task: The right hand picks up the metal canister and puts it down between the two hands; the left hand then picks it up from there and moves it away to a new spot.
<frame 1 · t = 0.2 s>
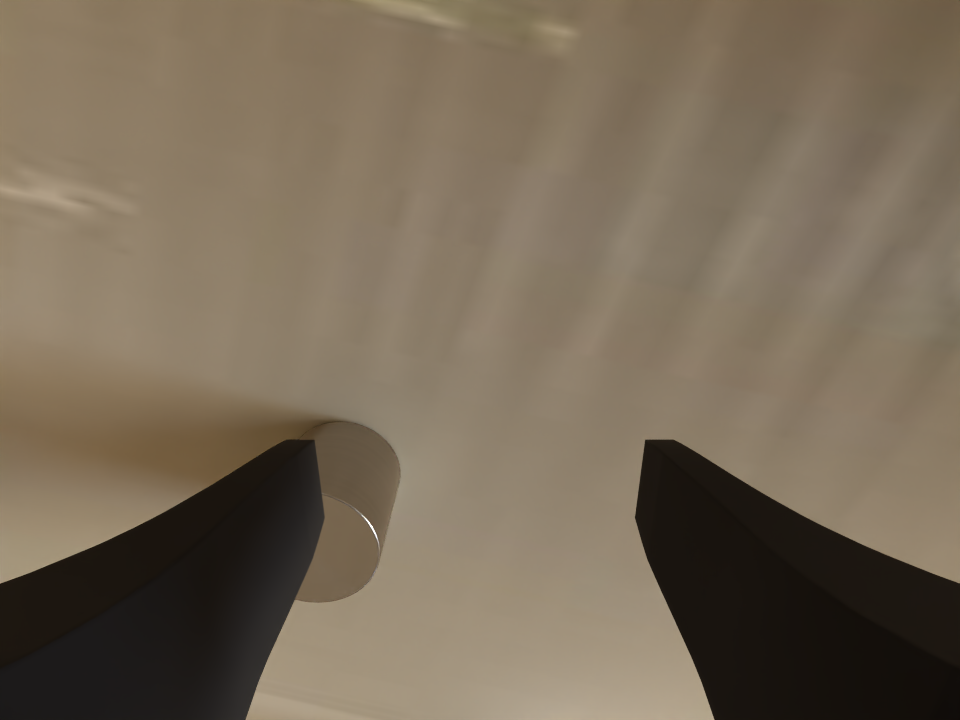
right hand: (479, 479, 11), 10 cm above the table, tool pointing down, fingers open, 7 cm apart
canister: (345, 470, 22), on the table
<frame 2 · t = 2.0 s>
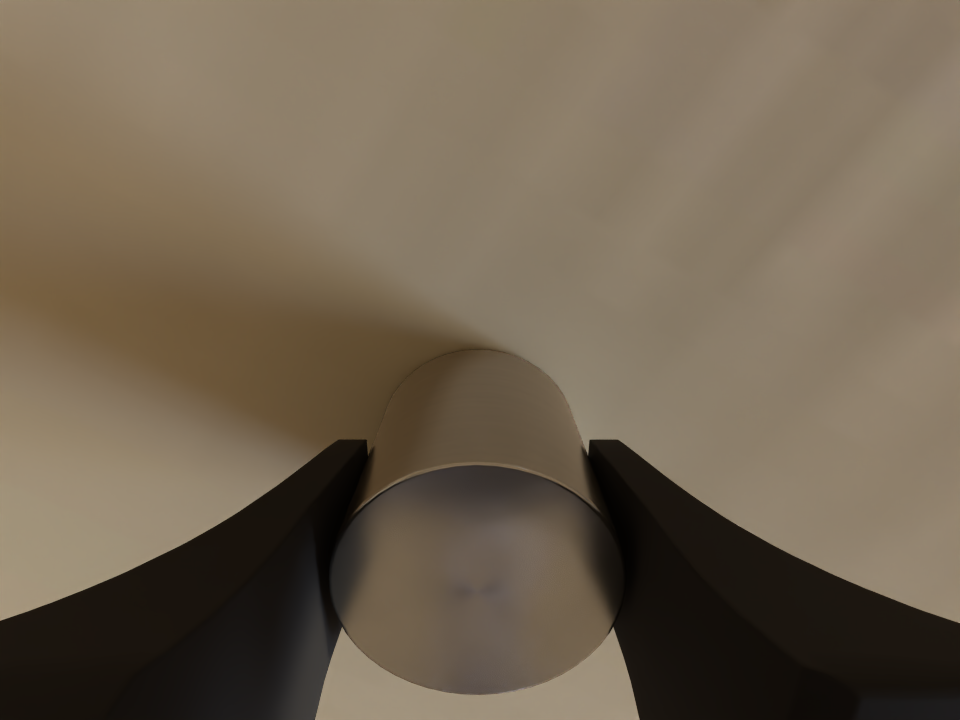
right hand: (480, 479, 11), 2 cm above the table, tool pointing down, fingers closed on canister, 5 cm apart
canister: (478, 438, 13), on the table, touching right hand
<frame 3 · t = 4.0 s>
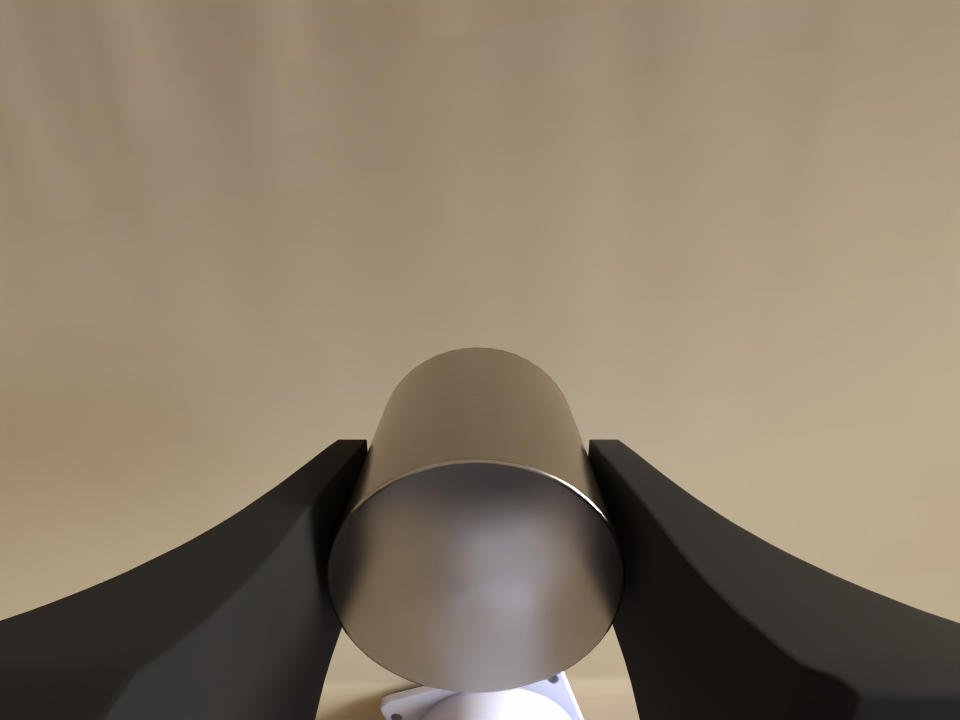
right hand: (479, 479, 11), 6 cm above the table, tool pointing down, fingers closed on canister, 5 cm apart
canister: (477, 436, 13), point 4 cm above the table, touching right hand
when the right hand's fingers open (2 cm above the table, at t = 6.2 s): canister stays where it is, on the table.
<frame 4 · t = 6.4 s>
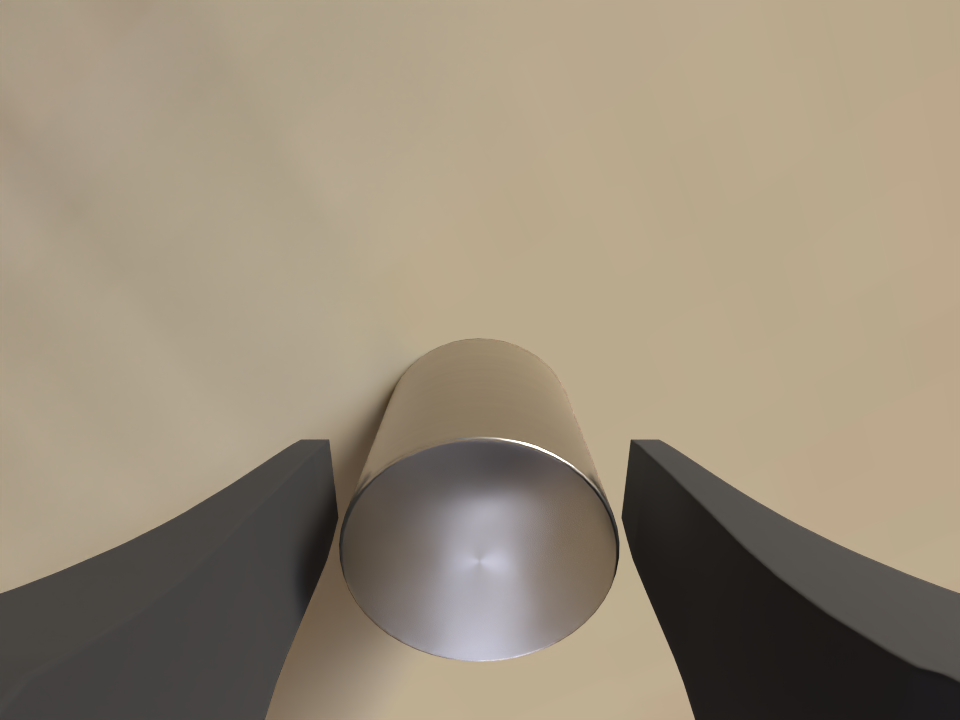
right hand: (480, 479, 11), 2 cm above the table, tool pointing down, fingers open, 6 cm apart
canister: (479, 424, 13), on the table
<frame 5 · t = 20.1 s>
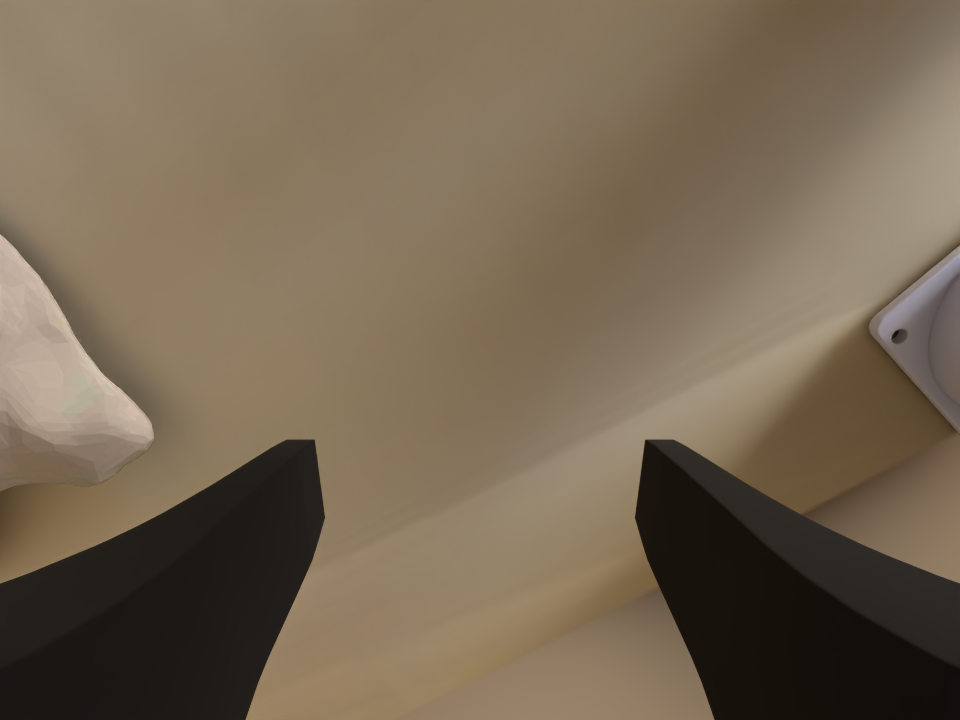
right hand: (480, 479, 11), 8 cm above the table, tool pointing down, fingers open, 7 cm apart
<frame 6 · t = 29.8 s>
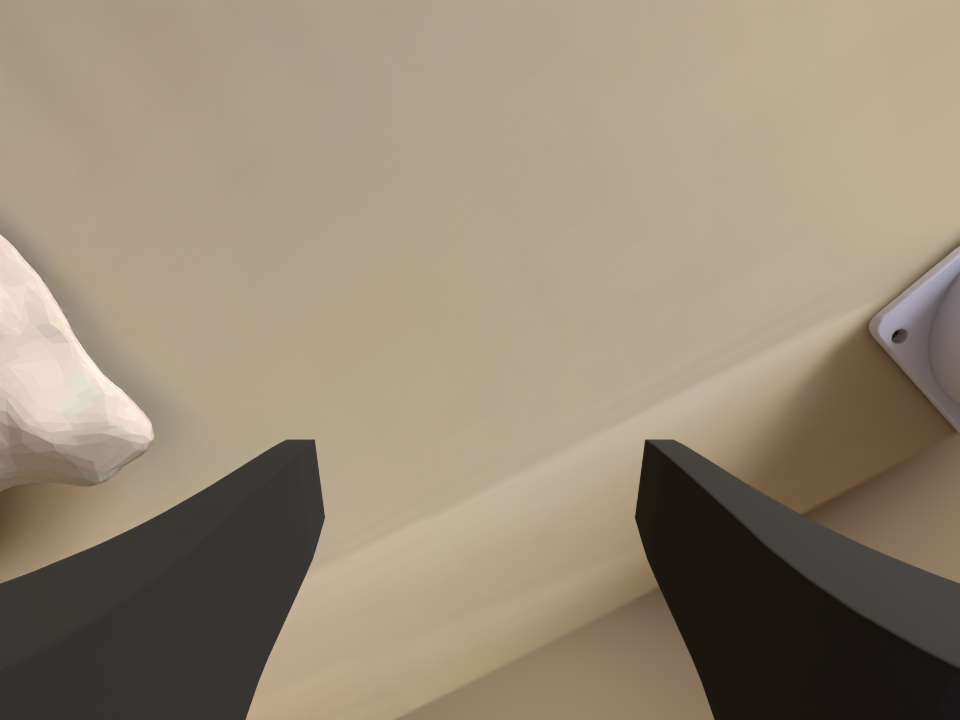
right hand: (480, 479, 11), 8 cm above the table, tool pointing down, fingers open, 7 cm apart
when the left hand's fingers open (1 cm above the table, at t = 39.3 s): canister stays where it is, on the table.
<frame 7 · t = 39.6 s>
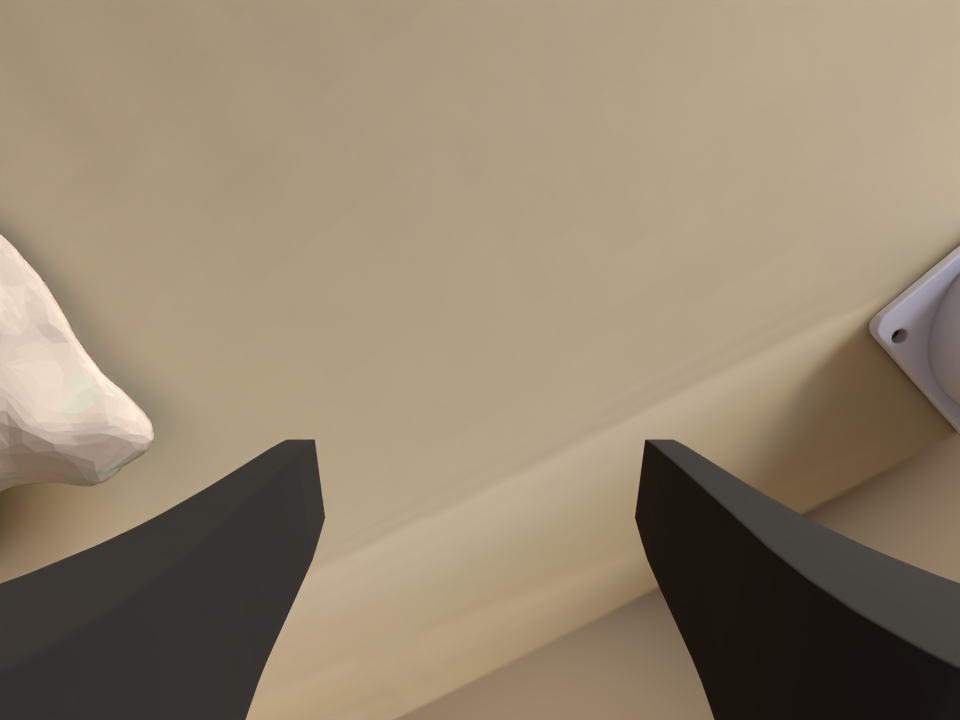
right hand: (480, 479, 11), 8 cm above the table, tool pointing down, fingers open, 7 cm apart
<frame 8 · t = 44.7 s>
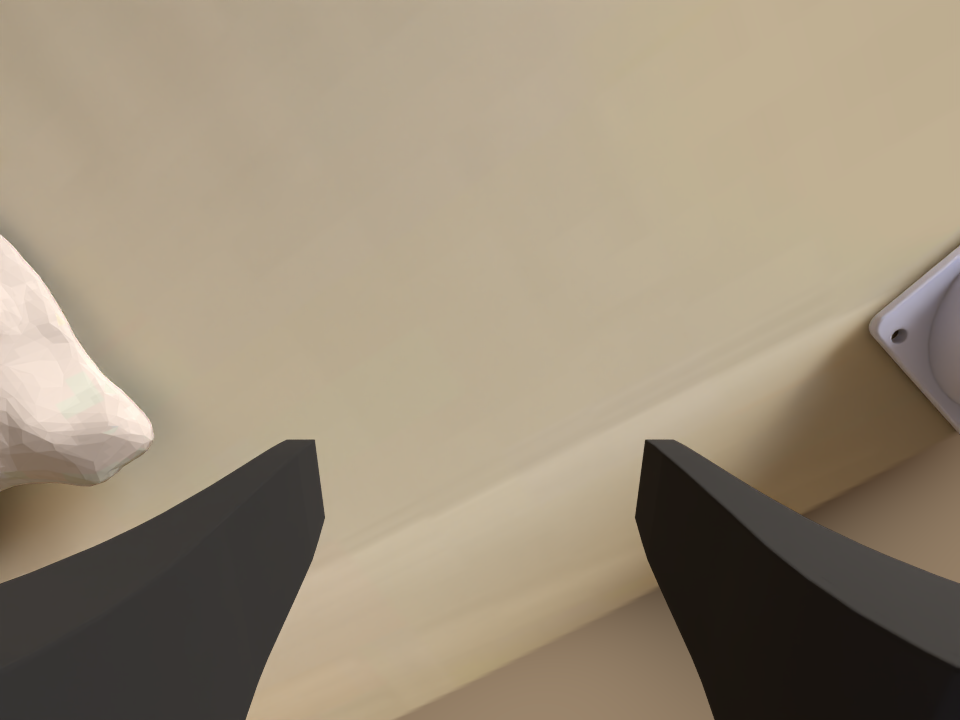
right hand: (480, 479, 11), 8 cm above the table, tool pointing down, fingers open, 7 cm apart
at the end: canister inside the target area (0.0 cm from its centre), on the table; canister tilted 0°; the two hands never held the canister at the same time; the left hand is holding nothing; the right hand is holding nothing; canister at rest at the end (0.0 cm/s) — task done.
